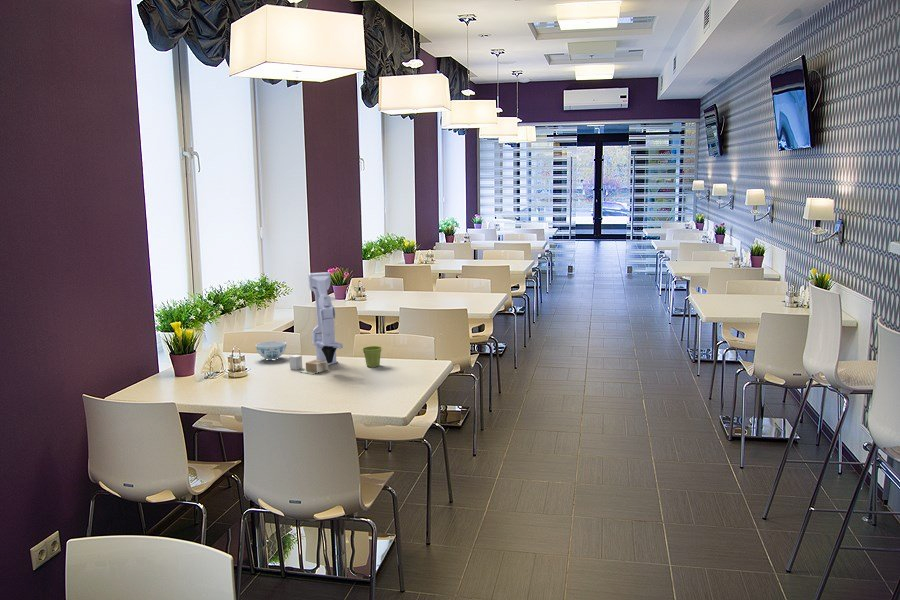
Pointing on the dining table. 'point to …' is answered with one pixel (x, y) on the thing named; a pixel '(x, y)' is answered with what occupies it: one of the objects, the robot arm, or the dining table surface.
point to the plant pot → (372, 355)
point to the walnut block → (316, 366)
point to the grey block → (295, 362)
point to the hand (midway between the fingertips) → (329, 362)
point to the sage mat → (308, 372)
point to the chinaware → (271, 349)
